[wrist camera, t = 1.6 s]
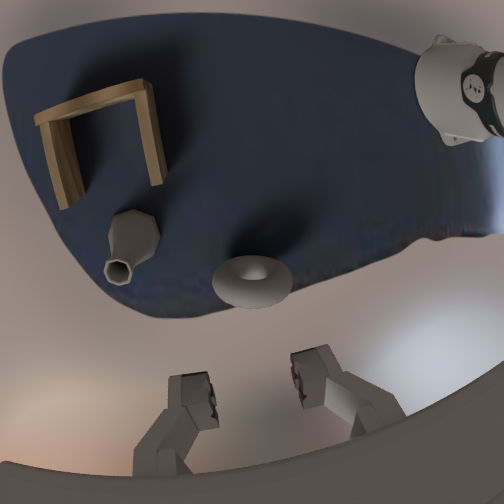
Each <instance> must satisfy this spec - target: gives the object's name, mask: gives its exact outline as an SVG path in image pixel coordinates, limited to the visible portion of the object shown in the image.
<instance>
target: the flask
mask: <svg viewBox="0 0 504 504" xmlns="http://www.w3.org/2000/svg"><path fill="white" fill-rule="evenodd" d="M108 238H109V243H110V248H111V259H108V260H107V261H106V264H105V268H104V273H105V275H106V278H107V280H108V282H111V283H114V284H116V285H123V284H127V283H130V281H131V278H132V274H133V268H134V267H135V266H136V265H138V264H139V263H141V262H143V261H144V260H146V259H148V258H150V257H152V256H154V254H155V251H156V248H157V246H158V243H159V240H160V238H161V236H160V233H159V230H158V227H157V224H156V221H155V218H154V216H151V215H148V214H146V213H143V212H140V211H137V210H135V209H132V210H129V211H126V212H122V213H119V214H116V215H113V219H112V222H111V226H110V229H109V233H108Z"/></svg>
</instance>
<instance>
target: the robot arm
mask: <svg viewBox="0 0 504 504" xmlns="http://www.w3.org/2000/svg"><path fill="white" fill-rule="evenodd" d="M415 89H416V94H417V98H418V101H419V104H420V107H421V109H422V111H423V113H424V115H425V116H426V118H427V119H428V120H429V122H430V123H431V124H432V125H433V126H434V127H435V128H436V129H437V130H438V131H439V133H440V135H441V137H442V140H443V142H444V143H445V144H446V145H447V146H454V145H458V144H461V143H464V142H468V141H471V140H474V141H478V142H483V141H484V140H486V139H489V138H492V137H494V136H499V137H501V138H503V139H504V53H502V52H497V51H493V52H488V51H485V50H484V49H483V48H482V47H481V46H478V45H477V44H476V43H456V42H455V41H453V40H451V39H450V38H448V37H446V36H444V35H437V36H436V37H435V39H434V42H433V44H432V46H431V47H430V48H429V49H428V50H426V51H425V52H424V53H423V54H422V55H421V57H420V58H419V60H418V63H417V66H416V71H415ZM290 360H291V363H292V367H291V373H292V379H293V382H294V385H295V388H296V389H297V390H298V391H299V399H300V402H301V404H302V407H303V409H308V408H312V407H316V406H320V405H325V406H326V407H327V408H328V409H330V410H331V411H333V412H334V413H335V414H337V415H338V416H340V417H341V418H342V419H344V420H345V421H347V422H348V423H349V424H351V425H352V426H353V428H352V431H351V434H350V438H349V440H348V441H345V442H342V443H339V444H336V445H333V446H330V447H327V448H324V449H320V450H317V451H313V452H310V453H306V454H302V455H298V456H295V457H291V458H286V459H283V460H278V461H274V462H270V463H264V464H259V465H254V466H249V467H243V468H237V469H231V470H224V471H217V472H208V473H199V474H193V473H192V472H191V470H190V469H189V468H188V467H187V465H186V464H185V463H184V459H185V458H186V456H187V454H188V452H189V450H190V448H191V447H192V445H193V443H194V441H195V439H196V437H197V435H198V433H199V431H202V430H208V429H214V428H219V420H218V413H217V411H216V408H215V407H216V406H217V404H216V397H215V393H214V389H213V386H212V384H211V383H210V378H209V375H208V372H207V371H204V372H197V373H189V374H182V375H176V376H170V377H169V380H168V409H164V410H163V412H162V413H161V414H160V416H159V417H158V418H157V420H156V421H155V422H154V424H153V425H152V426H151V428H150V429H149V430H148V431H147V433H146V434H145V436H144V437H143V438H142V440H141V441H140V442H139V443H138V445H137V446H136V447H135V449H134V456H133V477H129V476H126V477H125V476H103V475H89V474H78V473H70V472H62V471H55V470H49V469H43V468H37V467H32V466H27V465H22V464H18V463H14V462H10V461H3V462H1V463H0V504H504V361H502V362H501V363H500V364H498V365H497V366H495V367H494V368H493V369H491V370H489V371H488V372H486V373H485V374H483V375H482V376H480V377H479V378H477V379H475V380H474V381H472V382H471V383H469V384H467V385H466V386H464V387H462V388H461V389H459V390H458V391H456V392H454V393H452V394H450V395H448V396H447V397H445V398H443V399H441V400H439V401H437V402H436V403H434V404H432V405H430V406H428V407H426V408H424V409H422V410H420V411H418V412H416V413H414V414H412V415H410V416H407V417H406V415H405V413H404V412H403V410H402V408H401V407H400V405H399V403H398V402H397V400H396V399H395V397H394V395H393V394H391V393H389V392H387V391H385V390H383V389H381V388H379V387H377V386H375V385H373V384H371V383H369V382H367V381H365V380H363V379H361V378H359V377H357V376H355V375H353V374H351V373H349V372H347V371H345V372H343V371H342V369H341V367H340V365H339V363H338V362H337V360H336V358H335V356H334V354H333V352H332V351H331V349H330V347H329V345H327V344H325V345H322V346H318V347H315V348H311V349H307V350H303V351H299V352H295V353H291V355H290Z"/></svg>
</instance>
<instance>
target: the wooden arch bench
mask: <svg viewBox="0 0 504 504" xmlns="http://www.w3.org/2000/svg"><path fill="white" fill-rule="evenodd" d="M131 99H135V103H136V109H137V115H138V121H139V126H140V132H141V137H142V142H143V148H144V153H145V158H146V162H147V167H148V172H149V176H150V181H151V186H155V185H160V184H163V182H164V180H165V178H166V176H167V174H168V171H167V166H166V161H165V156H164V151H163V145H162V140H161V134H160V129H159V123H158V117H157V111H156V105H155V99H154V92H153V86H152V84H151V83H149V82H148V81H146V80H145V79H143V78H140V79H136V80H132V81H128V82H125V83H121V84H118V85H114V86H111V87H108V88H105V89H101V90H98V91H95V92H92V93H89V94H86V95H84V96H81V97H78V98H75V99H72V100H70V101H67V102H65V103H62V104H59V105H57V106H54V107H52V108H50V109H47V110H45V111H43V112H40V113H38V114H36V115H34V120H35V126H37V125H40V130H41V135H42V140H43V145H44V150H45V154H46V159H47V163H48V167H49V171H50V175H51V179H52V183H53V187H54V191H55V194H56V198H57V201H58V204H59V208H60V210H63V209H66V208H69V207H70V206H71V205H73V204H74V203H75V202H76V201H77V200H78V199H80V198H81V197H82V196H83V195H84V194H86V193H85V189H84V185H83V181H82V177H81V173H80V169H79V165H78V161H77V156H76V152H75V147H74V142H73V137H72V132H71V127H70V121H69V119H71V118H73V117H76V116H79V115H82V114H85V113H88V112H91V111H94V110H97V109H100V108H103V107H107V106H110V105H113V104H117V103H120V102H124V101H127V100H131Z"/></svg>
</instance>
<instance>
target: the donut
mask: <svg viewBox="0 0 504 504" xmlns="http://www.w3.org/2000/svg"><path fill="white" fill-rule="evenodd" d="M212 284H213V288H214V290H215V292H216V294H217V295H218V296H219V297H220V298H221V299H222V300H223V301H225V302H227V303H229V304H231V305H233V306H236V307H240V308H246V309H260V308H266V307H270V306H273V305H275V304H277V303H279V302H281V301H282V300H284V299H285V298H286V297H287V296H288V295H289V293H290V291H291V288H292V285H293V278H292V275H291V272H290V270H289V269H288V268H287V267H286V266H285V265H284V264H283V263H281V262H280V261H278V260H276V259H273V258H269V257H266V256H258V255H246V256H239V257H235V258H232V259H229V260H227V261H225V262H223V263H222V264H221V265H220V266H219V267H218V268H217V269H216V270H215V272H214V275H213V280H212Z"/></svg>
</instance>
